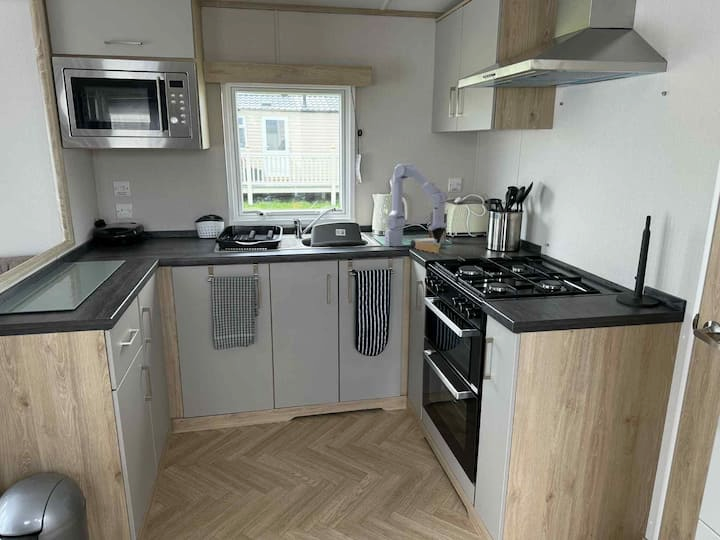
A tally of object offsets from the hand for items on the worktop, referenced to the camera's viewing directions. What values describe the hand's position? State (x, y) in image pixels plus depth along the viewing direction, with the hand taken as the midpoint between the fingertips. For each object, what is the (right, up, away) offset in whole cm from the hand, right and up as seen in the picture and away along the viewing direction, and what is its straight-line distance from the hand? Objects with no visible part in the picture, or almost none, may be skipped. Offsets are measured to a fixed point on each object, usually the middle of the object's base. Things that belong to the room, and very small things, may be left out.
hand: (437, 242), depth 261 cm
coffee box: (+5, +2, +29) cm, 30 cm away
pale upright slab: (-4, -2, +14) cm, 15 cm away
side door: (-5, -4, +3) cm, 7 cm away
